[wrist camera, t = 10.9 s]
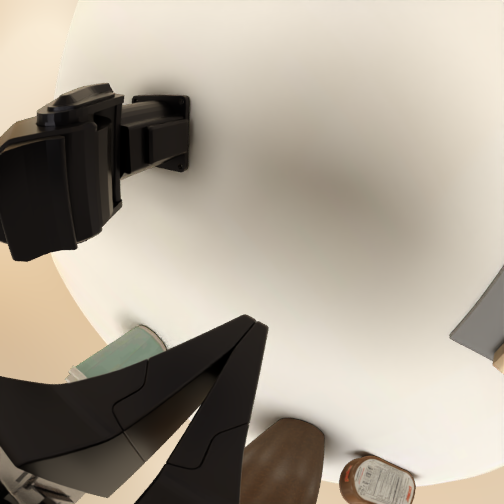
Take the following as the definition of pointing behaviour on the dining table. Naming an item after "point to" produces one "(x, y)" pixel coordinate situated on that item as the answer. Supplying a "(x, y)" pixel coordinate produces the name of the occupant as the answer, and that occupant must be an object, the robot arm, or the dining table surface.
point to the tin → (376, 482)
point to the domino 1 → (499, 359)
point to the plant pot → (283, 465)
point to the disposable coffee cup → (119, 354)
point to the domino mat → (484, 322)
